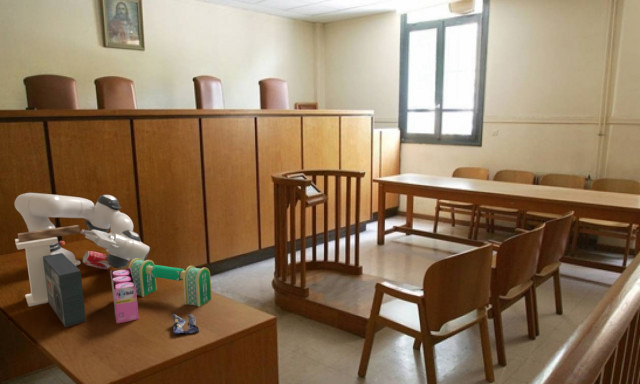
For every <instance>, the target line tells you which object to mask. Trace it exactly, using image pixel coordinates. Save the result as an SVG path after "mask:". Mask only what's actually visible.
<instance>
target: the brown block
mask: <svg viewBox="0 0 640 384" xmlns="http://www.w3.org/2000/svg"><path fill="white" fill-rule="evenodd" d="M74 234H77V235H78V234H81V228H80V225H79V224H74V225H69V226H61V227H55V228H53V229H46V230H39V231H32V232H29V231H25V232H20V233H18V232H17V237H18V238H17V239H18V240H19V242H25V241H31V240H38V239H44V238H51V237H57V238H58V237H61V236H69V235H74Z"/></svg>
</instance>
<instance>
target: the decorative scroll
mask: <svg viewBox="0 0 640 384" xmlns="http://www.w3.org/2000/svg"><path fill="white" fill-rule="evenodd" d="M127 268H130V269H131V273H132V276H133V280H134V282H135V285H136V293H137V296H140V297H142V298H144V297H147V295H150V294H151V293H153V292H155V291H157V290H158V287H157V279H158V278H159V279H165V280H171V281H177V282H178V281H179V282H180V281H183V294H184V295H183V296H184V297H183V298H184V305H191V306H196V307H198V308H199V307H202V306H203V305H204V304H206V303H208V302H209V301H211V300H212V299H213V298H212V285H211V284H212V283H211V272H210V269H209V268H207V267H202V268H200V267H199V268H198V267H196V266H194V265H189V266H187V267H186V269H184V268H180V267H172V266H171V267H170V266H166V265H158V264H155V263H154V261H153V260H151V259H145V260H144V261H142V260H141V259H139V258H135V259H133V260H131V261H129V264H128V267H127Z"/></svg>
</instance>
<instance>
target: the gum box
mask: <svg viewBox="0 0 640 384" xmlns="http://www.w3.org/2000/svg"><path fill="white" fill-rule="evenodd" d="M125 268H126V269H118V270H114V269H112V270H110V279H111V280H110V281H111V282H110V283H111V290H112V299H113V306H114V316H115V322H116V324H120V323H121V324H122V323H126V322H132V321H134V320H139V310H138V309H139V307H138V297H137V296H138V295H137V293H136V285H135V282H134V280H133V276H132V273H131V269H130V268H128V267H125Z"/></svg>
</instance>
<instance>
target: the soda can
mask: <svg viewBox="0 0 640 384" xmlns="http://www.w3.org/2000/svg"><path fill="white" fill-rule="evenodd" d="M108 255H109V254H105V253H101V252H98V251H92V250H90V251H89V250H87V251H86V252H85V253H84V254H83V257H82V263H83V264H85V265H86V266H89V267H94V268H97V269H101V270H108V269H110V267H112V266H111V265H110V264H109V263H108V260H107V256H108Z"/></svg>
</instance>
